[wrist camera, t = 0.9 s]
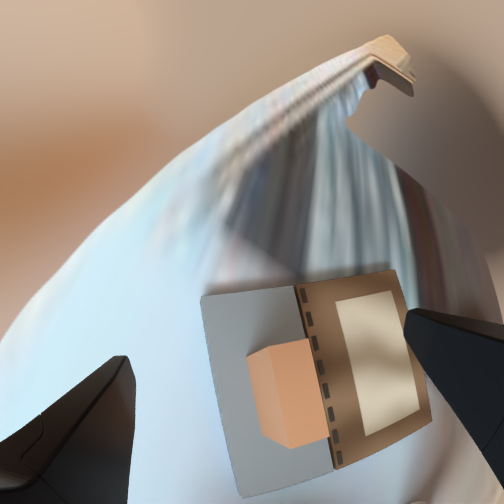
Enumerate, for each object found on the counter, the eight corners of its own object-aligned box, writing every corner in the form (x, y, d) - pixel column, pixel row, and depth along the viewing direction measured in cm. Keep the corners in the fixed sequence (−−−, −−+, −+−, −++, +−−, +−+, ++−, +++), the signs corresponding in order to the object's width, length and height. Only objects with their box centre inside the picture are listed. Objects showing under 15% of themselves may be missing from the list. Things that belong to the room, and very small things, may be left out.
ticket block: (422, 421, 22) (432, 421, 21) (328, 466, 19) (337, 470, 18) (386, 274, 29) (395, 268, 27) (290, 290, 26) (296, 284, 24)
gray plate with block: (325, 467, 19) (376, 488, 13) (238, 492, 17) (263, 531, 11) (286, 290, 25) (324, 254, 19) (200, 301, 23) (207, 265, 17)
